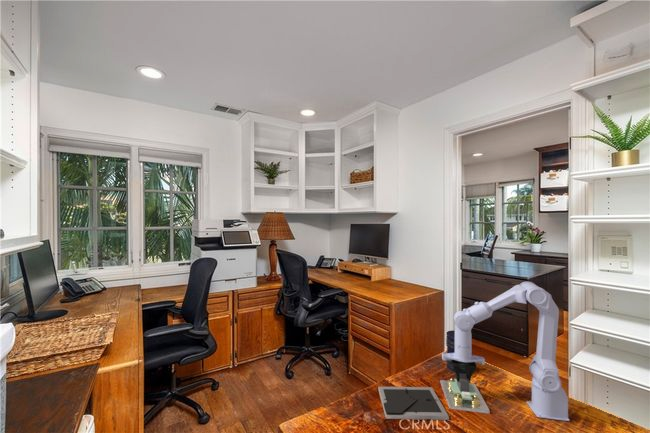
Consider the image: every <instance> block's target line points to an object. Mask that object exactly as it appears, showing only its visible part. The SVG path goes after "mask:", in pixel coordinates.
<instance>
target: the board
mask: <svg viewBox="0 0 650 433" xmlns="http://www.w3.org/2000/svg"><path fill="white" fill-rule="evenodd" d="M459 378H460V380H459V382H458V381H457V380H456V378H453V380H454V381H455V382H452V381H449V383H450V386H451V388H452V391H453V393H454V394H456V395H457V393H459V394H460V395H461V396H462V399H465V400H473V399H472V397H471V396H473V397H474V395H476V397H478V395H477V393H476V391H475V389H474V387H473V386H472V384H470V383H471V382H470V383H469V380H468V378H467V376H466V374H459Z"/></svg>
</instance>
